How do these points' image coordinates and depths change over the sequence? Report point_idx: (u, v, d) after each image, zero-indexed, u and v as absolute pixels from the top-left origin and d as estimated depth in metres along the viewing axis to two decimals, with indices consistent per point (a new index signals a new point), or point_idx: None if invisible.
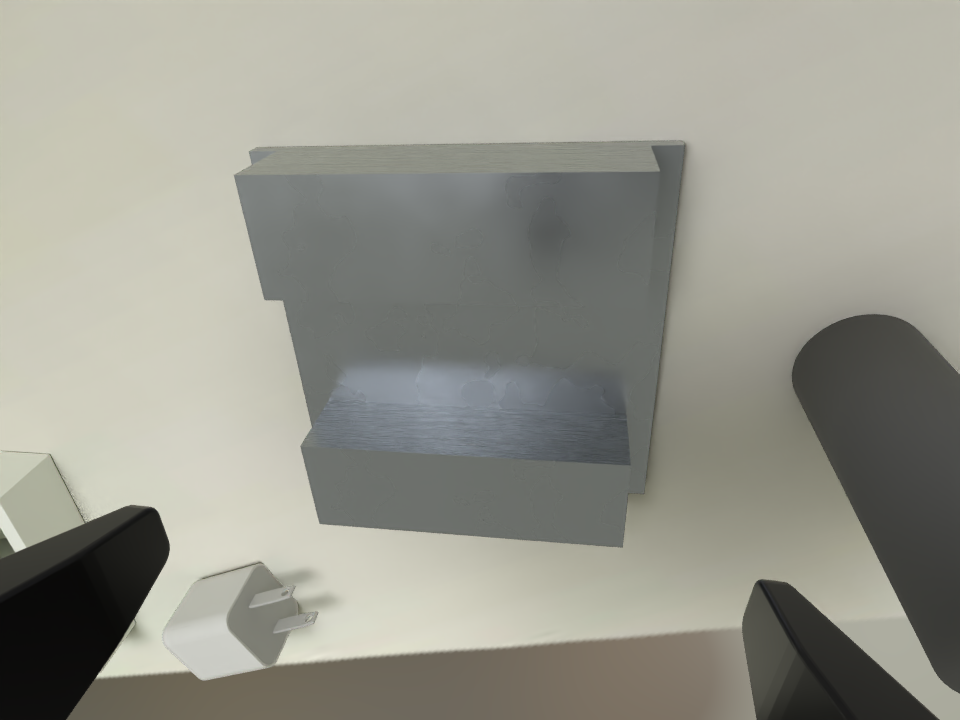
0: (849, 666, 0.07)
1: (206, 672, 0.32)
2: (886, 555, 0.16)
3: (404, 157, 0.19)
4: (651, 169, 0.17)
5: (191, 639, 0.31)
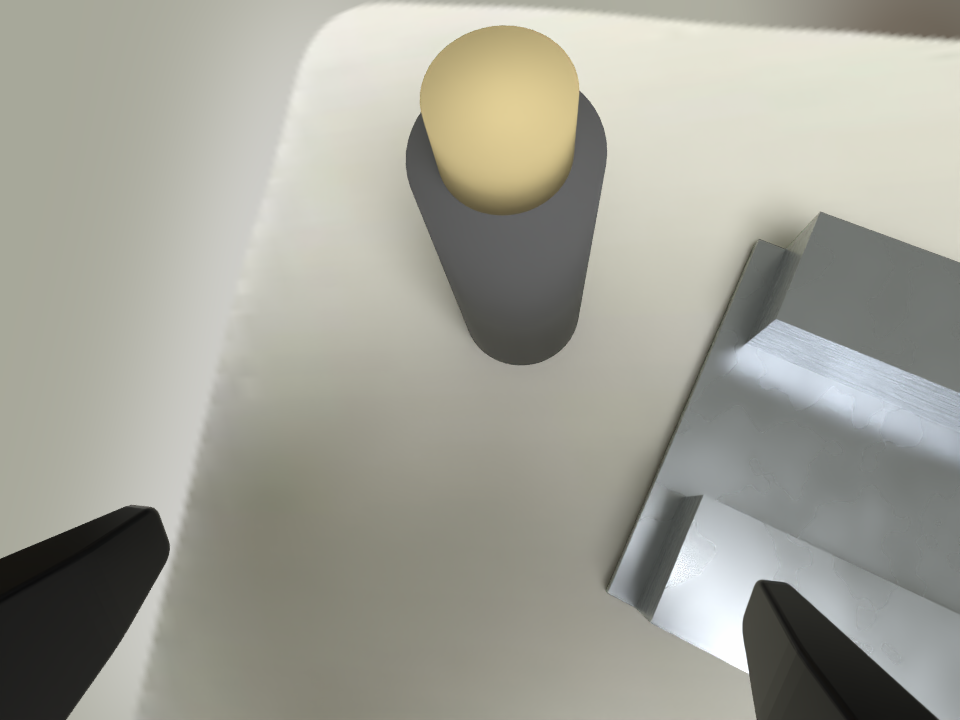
0: (851, 665, 0.07)
1: None
2: (593, 229, 0.16)
3: None
4: (656, 625, 0.18)
5: None
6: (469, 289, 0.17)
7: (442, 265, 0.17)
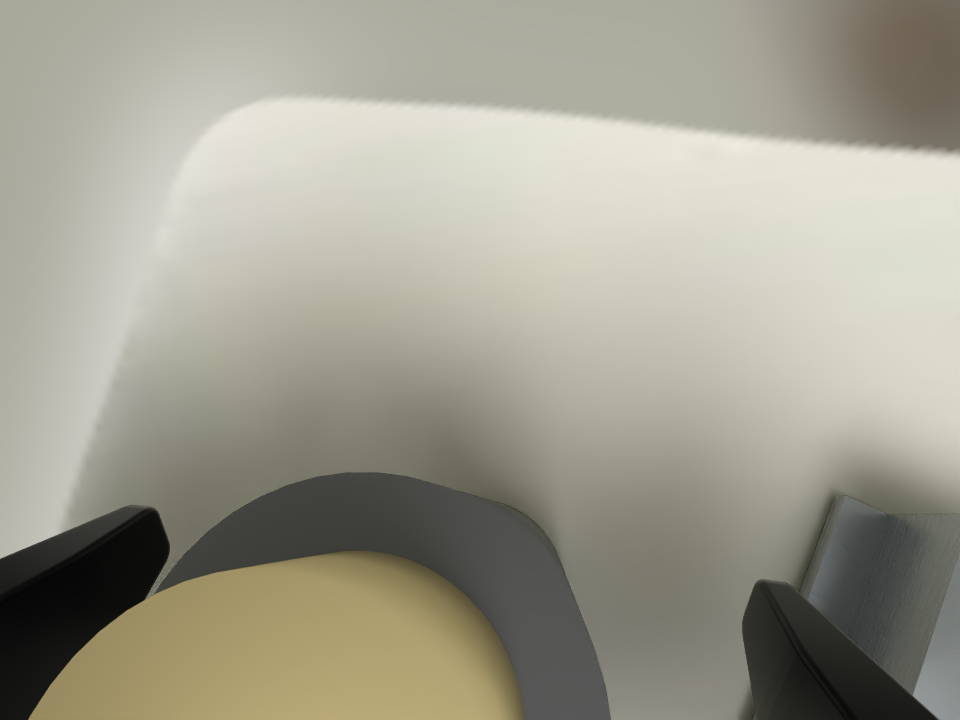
0: (850, 666, 0.07)
1: None
2: None
3: None
4: None
5: None
6: None
7: None
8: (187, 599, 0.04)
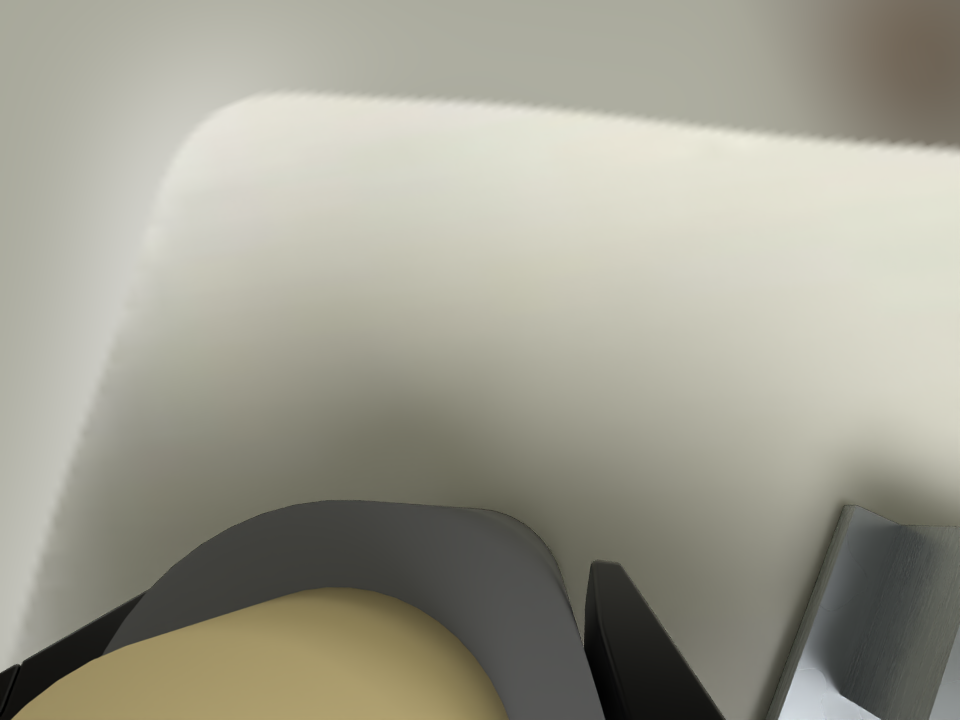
0: (640, 638, 0.07)
1: None
2: None
3: None
4: None
5: None
6: None
7: None
8: (128, 667, 0.03)
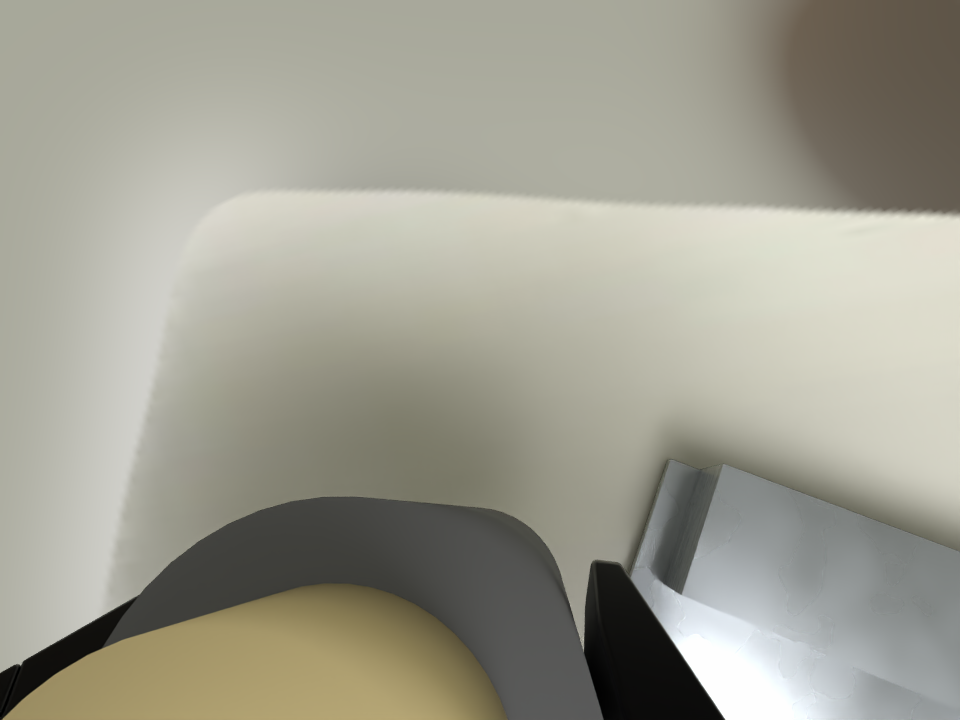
0: (641, 637, 0.07)
1: None
2: None
3: None
4: None
5: None
6: None
7: None
8: (125, 661, 0.03)
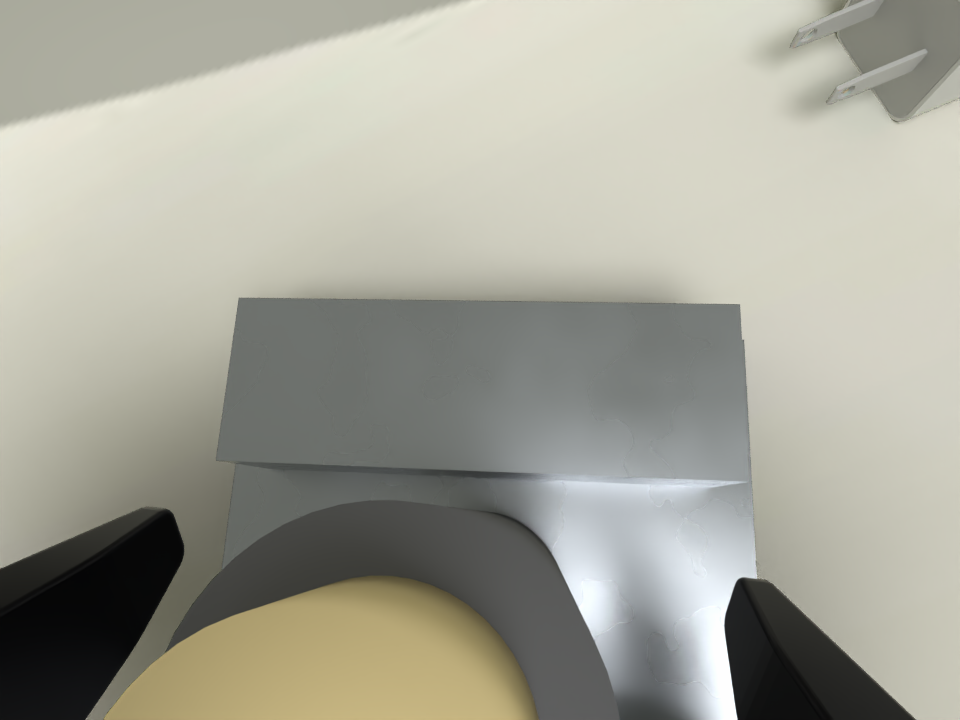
0: (826, 661, 0.07)
1: None
2: None
3: None
4: None
5: None
6: None
7: None
8: (235, 632, 0.04)
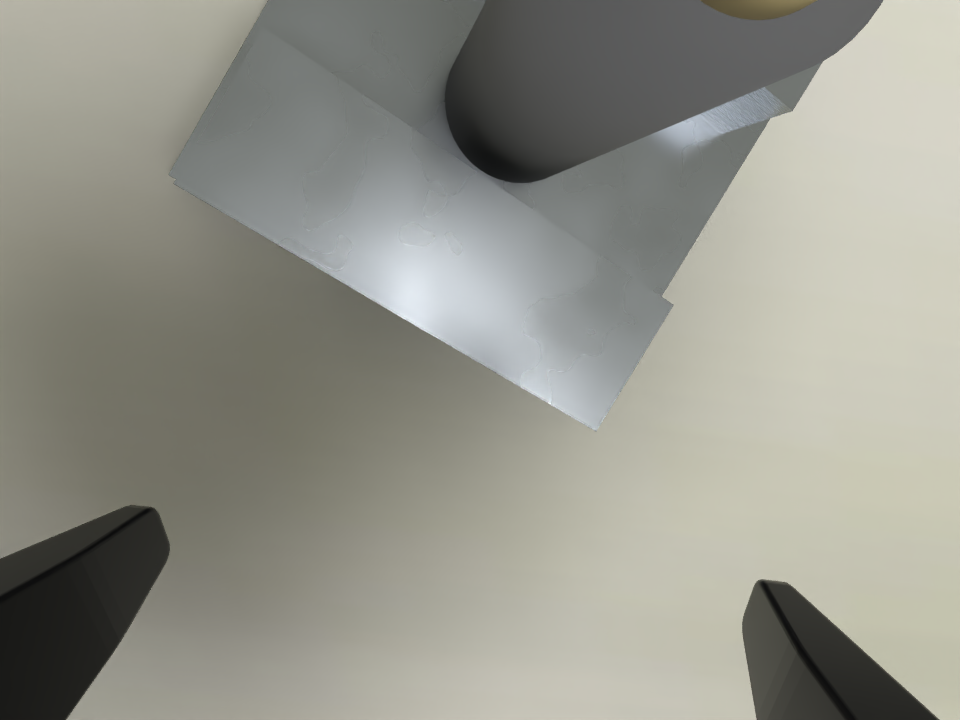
0: (849, 665, 0.07)
1: None
2: None
3: None
4: (184, 189, 0.14)
5: None
6: (525, 59, 0.11)
7: None
8: None
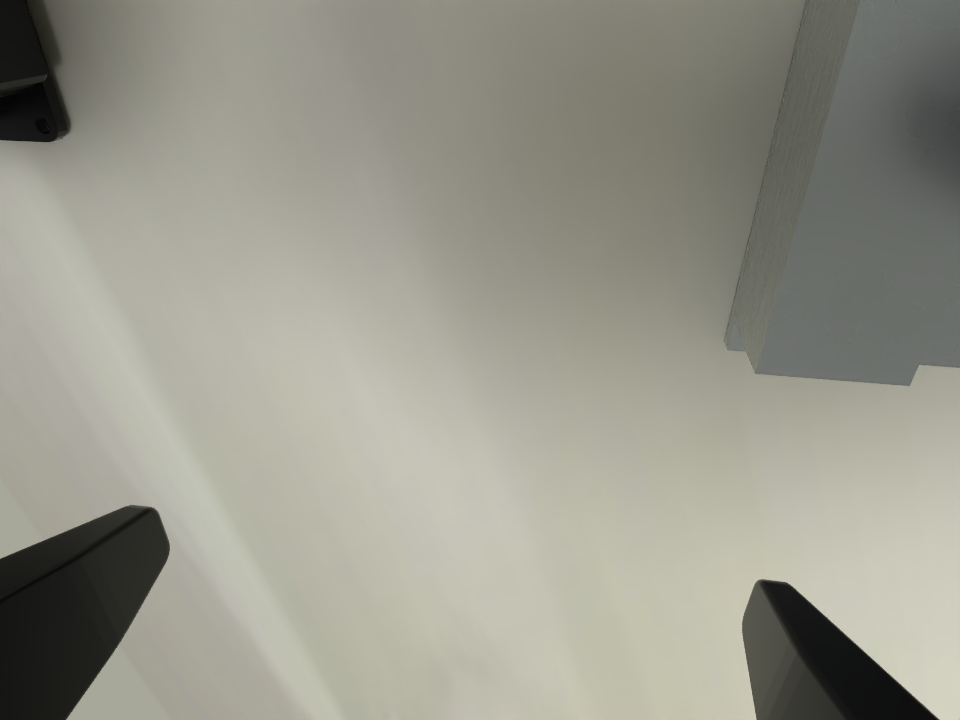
0: (850, 665, 0.07)
1: None
2: None
3: (780, 189, 0.17)
4: None
5: None
6: None
7: None
8: None
